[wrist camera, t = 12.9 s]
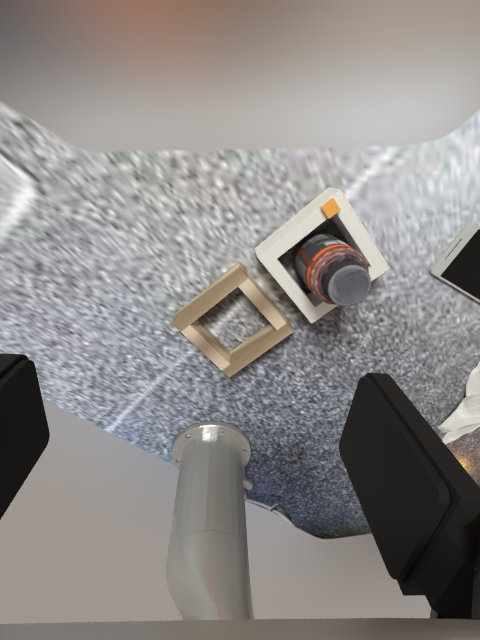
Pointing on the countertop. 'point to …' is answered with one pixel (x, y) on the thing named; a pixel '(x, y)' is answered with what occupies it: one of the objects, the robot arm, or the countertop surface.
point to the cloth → (465, 411)
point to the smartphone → (461, 262)
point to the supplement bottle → (332, 269)
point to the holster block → (249, 348)
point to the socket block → (300, 226)
